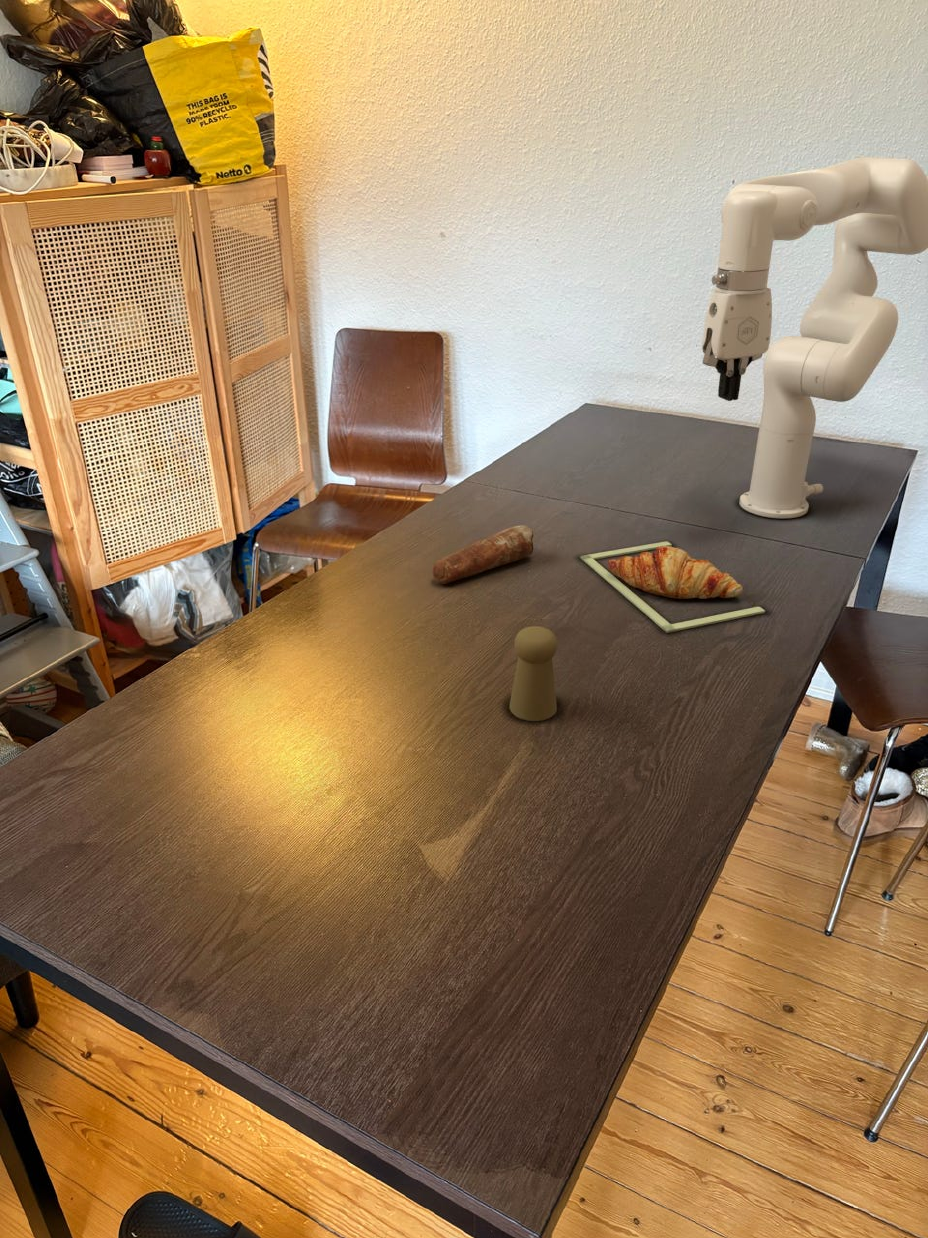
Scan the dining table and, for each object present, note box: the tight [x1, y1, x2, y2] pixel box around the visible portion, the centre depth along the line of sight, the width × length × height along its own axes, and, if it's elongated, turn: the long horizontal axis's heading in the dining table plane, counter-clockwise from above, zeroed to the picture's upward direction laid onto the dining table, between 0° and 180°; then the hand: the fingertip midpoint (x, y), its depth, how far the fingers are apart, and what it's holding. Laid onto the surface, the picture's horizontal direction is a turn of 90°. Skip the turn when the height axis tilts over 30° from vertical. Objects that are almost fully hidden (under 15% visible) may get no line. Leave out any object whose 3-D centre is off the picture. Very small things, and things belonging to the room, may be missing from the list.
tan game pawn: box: [508, 625, 558, 722], centre depth 112 cm, size 6×6×11 cm
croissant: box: [607, 546, 743, 600], centre depth 143 cm, size 21×10×8 cm
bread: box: [431, 524, 534, 585], centre depth 149 cm, size 6×19×6 cm, turn 126°
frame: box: [579, 540, 766, 634], centre depth 145 cm, size 17×28×1 cm, turn 21°
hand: (727, 398), depth 148 cm, fingers closed
